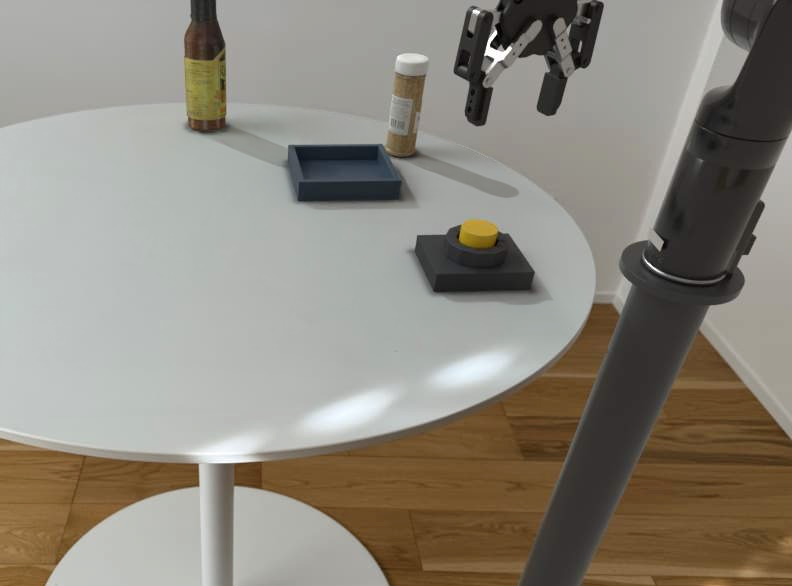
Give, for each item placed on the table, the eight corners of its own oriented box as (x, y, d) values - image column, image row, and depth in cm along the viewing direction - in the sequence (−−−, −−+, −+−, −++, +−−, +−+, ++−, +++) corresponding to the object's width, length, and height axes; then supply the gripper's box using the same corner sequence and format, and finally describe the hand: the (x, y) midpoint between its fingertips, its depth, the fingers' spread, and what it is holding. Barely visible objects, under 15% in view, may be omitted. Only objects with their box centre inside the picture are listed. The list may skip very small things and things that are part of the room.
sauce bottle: (230, 131, 122) (230, -10, 109) (190, 134, 120) (185, -9, 108) (221, 117, 126) (220, -21, 114) (183, 119, 125) (178, -19, 113)
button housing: (504, 249, 94) (512, 219, 91) (530, 289, 87) (539, 257, 85) (414, 251, 93) (419, 220, 91) (433, 291, 86) (439, 259, 84)
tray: (380, 161, 114) (382, 143, 112) (399, 199, 104) (401, 180, 103) (287, 162, 113) (288, 144, 111) (297, 200, 103) (298, 182, 102)
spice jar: (421, 154, 116) (436, 59, 108) (397, 160, 114) (411, 63, 106) (401, 143, 119) (415, 50, 110) (377, 149, 117) (389, 54, 109)
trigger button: (488, 232, 90) (491, 218, 88) (499, 249, 87) (503, 235, 85) (454, 233, 89) (457, 219, 88) (464, 250, 86) (467, 236, 85)
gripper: (515, -59, 62) (474, 141, 73) (650, -67, 67) (593, 122, 77) (460, -74, 68) (429, 114, 78) (589, -81, 72) (543, 98, 83)
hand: (511, 118), depth 78 cm, fingers open, 8 cm apart
